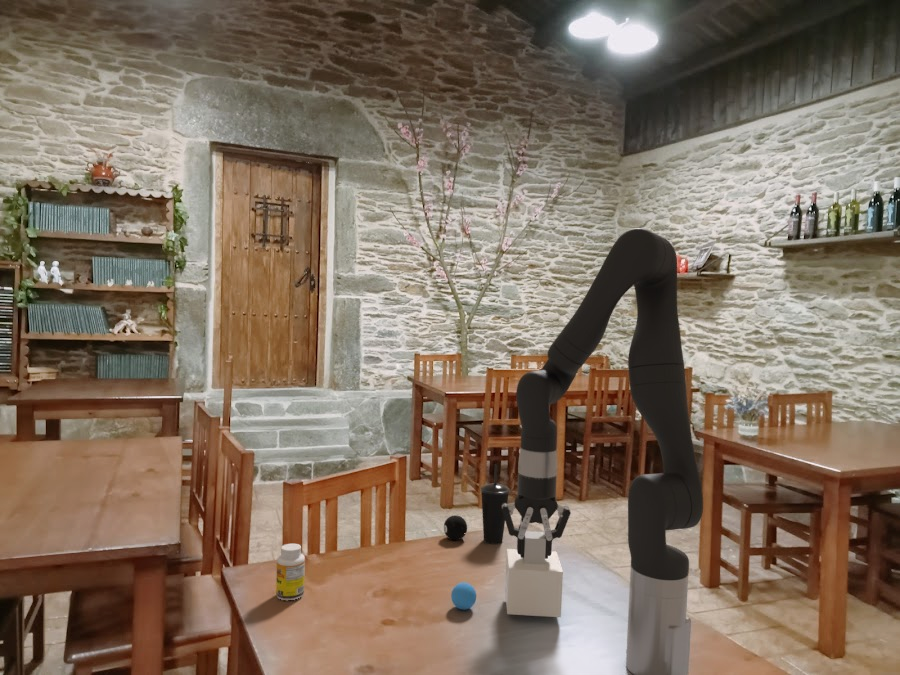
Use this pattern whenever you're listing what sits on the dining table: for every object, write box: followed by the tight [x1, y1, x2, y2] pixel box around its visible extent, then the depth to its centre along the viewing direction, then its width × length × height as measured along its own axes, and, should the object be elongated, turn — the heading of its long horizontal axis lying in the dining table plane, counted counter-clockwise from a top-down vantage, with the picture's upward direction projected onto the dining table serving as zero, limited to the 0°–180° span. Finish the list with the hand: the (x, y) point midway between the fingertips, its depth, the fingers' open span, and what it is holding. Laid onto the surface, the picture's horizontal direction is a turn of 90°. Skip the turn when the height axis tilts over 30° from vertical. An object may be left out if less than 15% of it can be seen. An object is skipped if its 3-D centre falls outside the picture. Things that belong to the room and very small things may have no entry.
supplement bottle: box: [275, 543, 306, 601], centre depth 129 cm, size 6×6×10 cm
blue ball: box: [451, 582, 477, 611], centre depth 126 cm, size 5×5×5 cm
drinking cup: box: [479, 463, 511, 545], centre depth 164 cm, size 8×8×20 cm
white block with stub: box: [504, 530, 564, 618], centre depth 126 cm, size 10×10×14 cm
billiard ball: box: [443, 515, 468, 541], centre depth 165 cm, size 6×6×6 cm
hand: (533, 556), depth 126 cm, fingers closed on white block with stub, 4 cm apart
